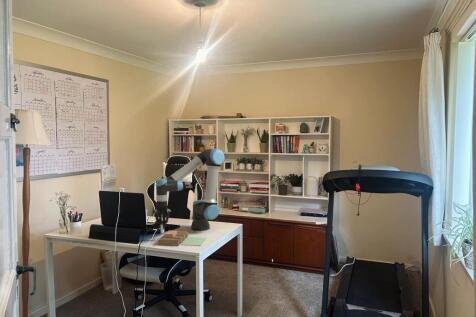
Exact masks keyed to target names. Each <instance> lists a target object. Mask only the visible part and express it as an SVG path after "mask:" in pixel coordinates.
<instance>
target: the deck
mask: <svg viewBox="0 0 476 317" xmlns="http://www.w3.org/2000/svg"><path fill="white" fill-rule="evenodd" d="M176 231H177V234H176V235H175V236H174V237H165V234H163V235H162V236H161V237H160V238H158V246H168V247H169V246H171V247H179V246H181V244H182V243H183V242H184V241H185V240H186V239H187V238H188V237H189V233H188V232H189V231H188V230H187V231H184V230H183V231H182V230H176Z"/></svg>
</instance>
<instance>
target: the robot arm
mask: <svg viewBox="0 0 476 317" xmlns="http://www.w3.org/2000/svg"><path fill="white" fill-rule="evenodd" d="M225 159H226V158H225V154H224V152H223V150H221V149H218V148H207V149H203V150H202V151H200V152H199V153H198V154H197V155H195V156H194V158H193V159H192V160H190V161H189V162H188V163H186V164H185V165H183V166H182V167H180V168H179V169H178V170H176V171H174V173H172V174H171V175H170V176H167V177H166V178H157V179H156V180H155V196H156V197H155V199H156V200H155V201H156V204H155V205H156V206H155V209H153V210H152V212H153V214H154V217H155V218H154V219H155V221H156V222H155V223H156V224H158V226H159V229H160V234H161V235H164V234H165V229H166V224H168V223H169V218H170V215H171V214H170V213H171V212H172V210H171V209H169V207H168V192H169V193H170V192H178V191H182V190H183V189H184V183H183V181H182V180H183V179H184V178H186V177H187V176H189V175H190V174H192V173H193V172H194V171H195V170H196V169H198V168H199V167H203V166H205V167H206V169H207V173H206V182H205V192H204V199H197V200H194V201H192V221H191V225H190V229H191V230H192V231H207V230H209V229H211V224H210V222H209V220H211V221H212V220H214V219H216V218H217V217H218V216H219V213H220V208H219V206H218V201H217V189H218V181H219V171H220V169H221V167H222V164H223V163H224V162H225Z"/></svg>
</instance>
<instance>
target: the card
mask: <svg viewBox="0 0 476 317" xmlns="http://www.w3.org/2000/svg"><path fill="white" fill-rule="evenodd" d="M177 231H178V230H168V231H166V232H164V235H165V237H174V236H175V235H176V234H177Z"/></svg>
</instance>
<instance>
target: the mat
mask: <svg viewBox="0 0 476 317" xmlns="http://www.w3.org/2000/svg"><path fill="white" fill-rule="evenodd" d="M207 239H208V237H199V236H198V237H196V236H194V237H193V236H188V237H187V238H186V239H185V240H184V241H183V242H182V243H181V244H180V246H189V247H190V246H192V247H193V246H196V247H201V246H203V244H204V243H205V242H206V240H207Z"/></svg>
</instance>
